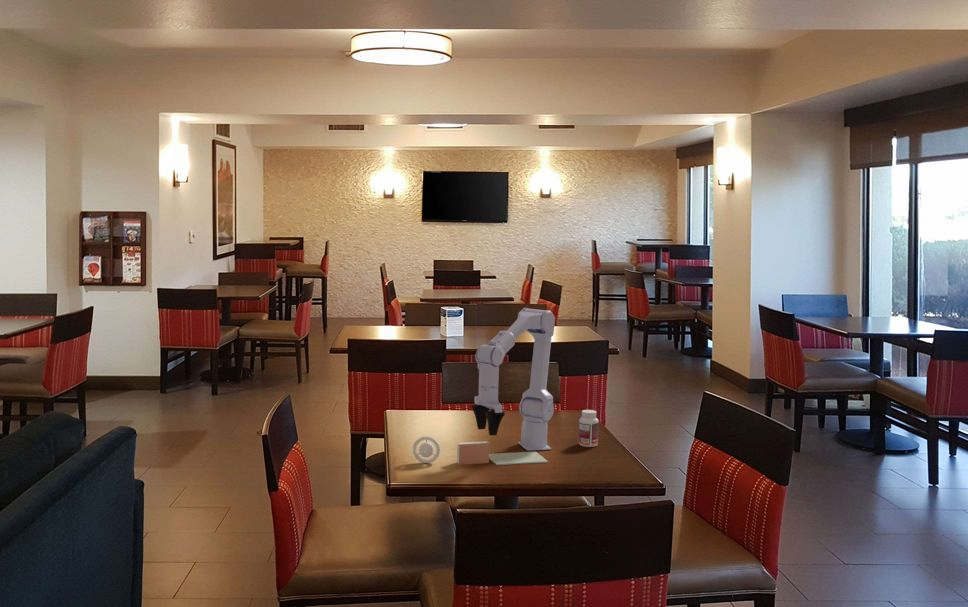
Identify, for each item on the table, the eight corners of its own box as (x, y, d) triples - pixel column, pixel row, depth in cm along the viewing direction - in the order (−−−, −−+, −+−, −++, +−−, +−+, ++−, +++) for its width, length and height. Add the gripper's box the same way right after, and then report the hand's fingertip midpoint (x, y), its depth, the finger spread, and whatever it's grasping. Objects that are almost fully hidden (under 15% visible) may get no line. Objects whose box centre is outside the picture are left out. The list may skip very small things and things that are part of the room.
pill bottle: (594, 442, 292) (595, 409, 291) (600, 447, 286) (601, 413, 285) (576, 442, 291) (577, 409, 290) (581, 447, 285) (582, 413, 284)
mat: (485, 455, 273) (485, 453, 273) (535, 452, 277) (535, 451, 277) (496, 465, 262) (496, 463, 262) (547, 462, 267) (547, 461, 267)
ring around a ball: (440, 462, 264) (441, 435, 263) (438, 467, 258) (438, 440, 257) (413, 460, 264) (413, 434, 263) (410, 466, 259) (411, 439, 258)
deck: (457, 462, 264) (457, 442, 263) (486, 461, 267) (487, 441, 266) (459, 464, 262) (459, 444, 261) (488, 463, 264) (489, 443, 264)
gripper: (465, 382, 265) (464, 427, 267) (487, 391, 253) (485, 438, 254) (487, 381, 269) (485, 425, 270) (509, 390, 256) (507, 436, 257)
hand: (487, 432), depth 262 cm, fingers open, 7 cm apart
